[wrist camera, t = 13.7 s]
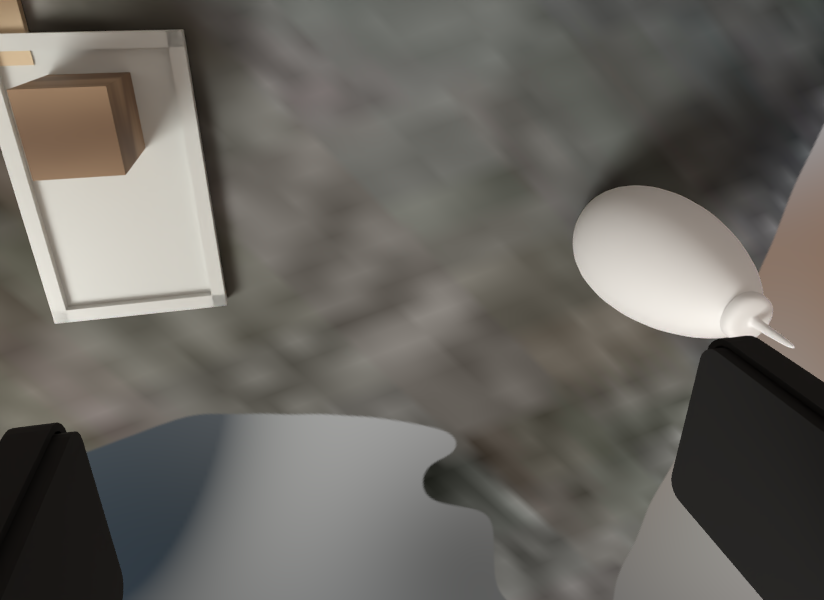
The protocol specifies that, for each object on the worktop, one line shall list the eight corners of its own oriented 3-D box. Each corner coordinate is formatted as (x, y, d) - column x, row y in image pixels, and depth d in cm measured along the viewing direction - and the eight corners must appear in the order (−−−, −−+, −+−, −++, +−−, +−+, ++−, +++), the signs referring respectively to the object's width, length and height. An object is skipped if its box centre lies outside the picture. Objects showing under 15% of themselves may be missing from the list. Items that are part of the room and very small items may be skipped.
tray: (-26, 33, 30) (-34, 34, 30) (183, 29, 32) (181, 30, 32) (59, 316, 38) (54, 323, 37) (227, 298, 40) (226, 305, 39)
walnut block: (47, 74, 31) (6, 89, 26) (130, 72, 32) (106, 86, 27) (68, 152, 33) (32, 180, 28) (145, 148, 34) (125, 175, 29)
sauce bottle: (529, 254, 43) (685, 400, 27) (581, 150, 41) (786, 245, 25) (614, 284, 46) (801, 431, 30) (668, 188, 43) (902, 295, 28)
